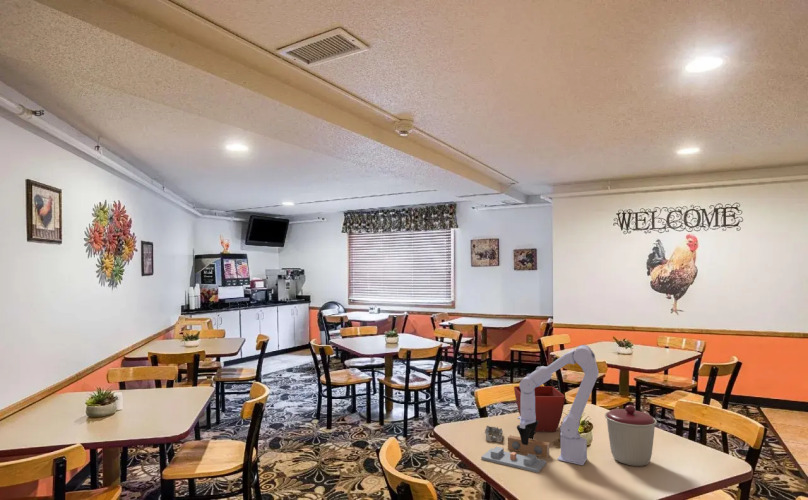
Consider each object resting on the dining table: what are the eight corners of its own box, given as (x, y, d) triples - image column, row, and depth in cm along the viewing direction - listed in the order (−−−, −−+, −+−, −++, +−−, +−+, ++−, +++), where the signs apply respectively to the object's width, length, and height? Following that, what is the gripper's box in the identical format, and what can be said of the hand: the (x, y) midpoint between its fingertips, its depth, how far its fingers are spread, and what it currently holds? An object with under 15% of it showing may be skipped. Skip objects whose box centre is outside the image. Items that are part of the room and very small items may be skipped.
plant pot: (513, 420, 227) (513, 385, 228) (552, 420, 227) (552, 385, 228) (523, 434, 208) (523, 396, 209) (566, 434, 208) (565, 396, 209)
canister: (664, 461, 179) (663, 405, 180) (647, 475, 167) (646, 415, 168) (616, 448, 193) (616, 396, 194) (597, 460, 180) (596, 405, 181)
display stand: (545, 463, 177) (545, 455, 178) (538, 472, 169) (538, 464, 169) (491, 450, 189) (491, 443, 189) (481, 459, 181) (481, 451, 181)
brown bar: (549, 455, 185) (549, 442, 186) (547, 458, 182) (547, 445, 183) (510, 447, 194) (510, 435, 194) (507, 450, 191) (507, 437, 191)
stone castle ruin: (501, 443, 198) (501, 433, 198) (483, 441, 200) (483, 431, 201) (503, 434, 209) (503, 425, 209) (486, 433, 211) (486, 423, 211)
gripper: (523, 401, 197) (523, 434, 197) (512, 410, 185) (512, 445, 184) (540, 404, 193) (540, 437, 193) (529, 413, 181) (529, 448, 181)
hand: (527, 441), depth 188 cm, fingers open, 7 cm apart
